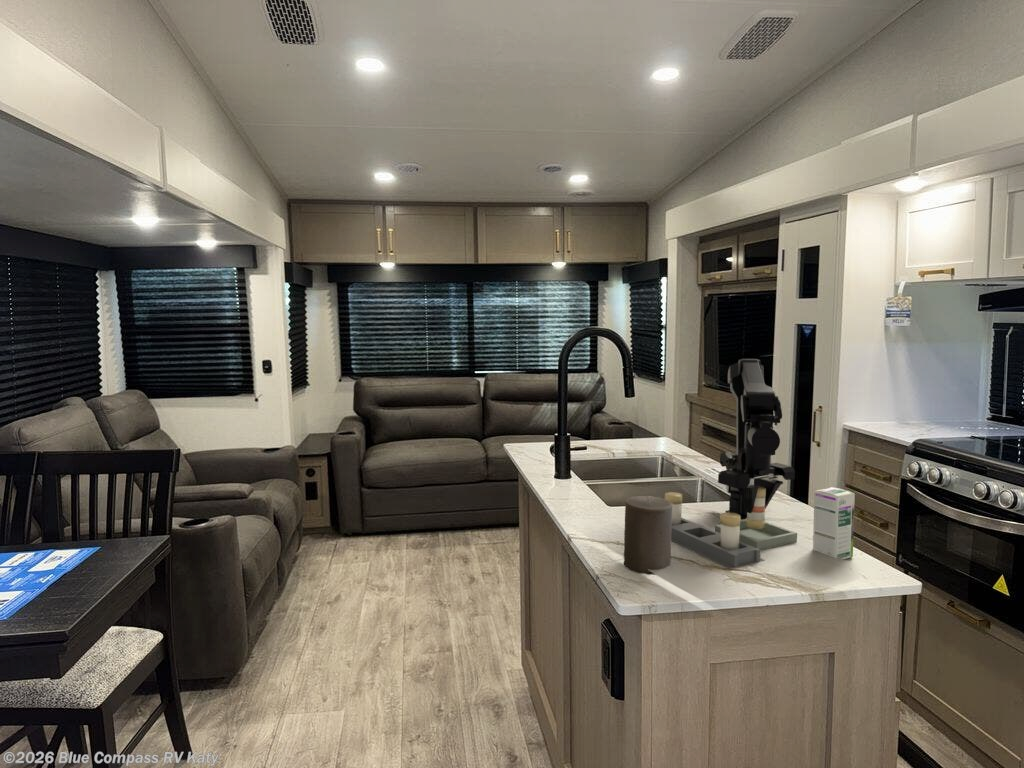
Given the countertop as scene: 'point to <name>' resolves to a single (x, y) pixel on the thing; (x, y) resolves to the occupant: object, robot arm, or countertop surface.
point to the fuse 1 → (675, 506)
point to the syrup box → (834, 522)
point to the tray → (764, 535)
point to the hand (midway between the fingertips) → (755, 511)
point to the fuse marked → (757, 511)
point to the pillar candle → (647, 533)
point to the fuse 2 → (730, 531)
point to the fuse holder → (712, 545)
